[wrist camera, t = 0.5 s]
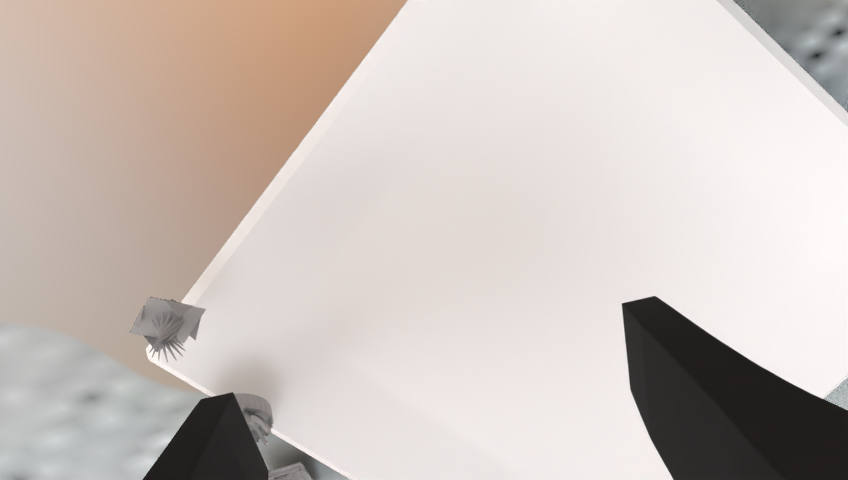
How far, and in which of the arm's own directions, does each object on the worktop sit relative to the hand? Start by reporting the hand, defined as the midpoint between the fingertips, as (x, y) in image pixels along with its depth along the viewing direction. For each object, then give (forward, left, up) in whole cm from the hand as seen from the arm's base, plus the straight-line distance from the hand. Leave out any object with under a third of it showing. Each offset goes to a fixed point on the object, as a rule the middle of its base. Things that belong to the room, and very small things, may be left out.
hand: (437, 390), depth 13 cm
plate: (+1, -5, -11) cm, 12 cm away
